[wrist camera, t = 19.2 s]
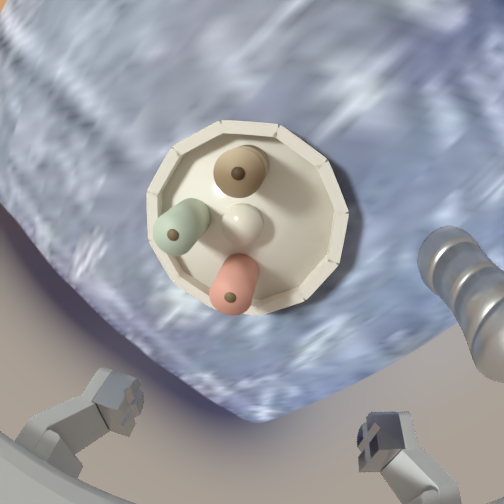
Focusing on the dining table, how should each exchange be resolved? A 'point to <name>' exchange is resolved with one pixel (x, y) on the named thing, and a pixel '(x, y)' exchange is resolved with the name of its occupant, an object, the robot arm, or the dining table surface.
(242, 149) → the bead
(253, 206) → the tray
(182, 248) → the bead
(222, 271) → the bead
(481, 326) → the silver metal bottle
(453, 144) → the dining table surface
